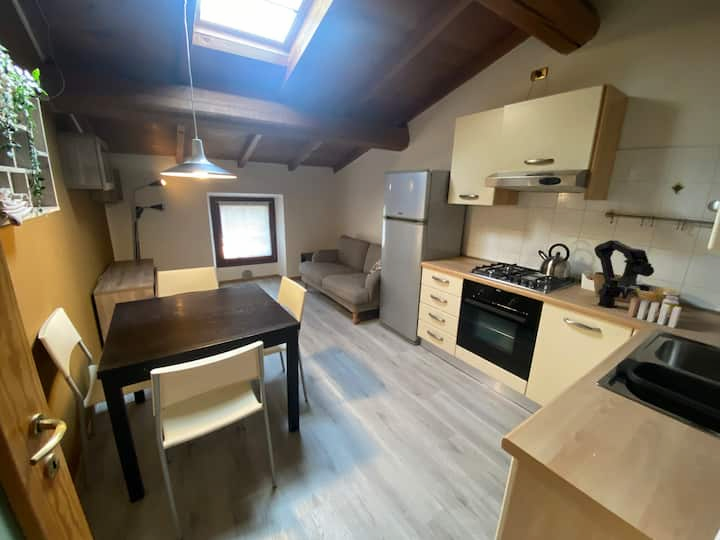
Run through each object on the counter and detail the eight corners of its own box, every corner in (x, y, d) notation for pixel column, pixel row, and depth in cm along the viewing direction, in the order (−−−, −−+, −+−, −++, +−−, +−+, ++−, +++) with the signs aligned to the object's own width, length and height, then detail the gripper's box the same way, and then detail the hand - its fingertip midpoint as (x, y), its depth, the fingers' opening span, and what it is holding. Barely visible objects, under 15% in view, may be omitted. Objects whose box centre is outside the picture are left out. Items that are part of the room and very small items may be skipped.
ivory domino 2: (646, 320, 154) (651, 303, 152) (649, 319, 157) (654, 301, 154) (651, 322, 152) (656, 304, 150) (654, 320, 155) (659, 302, 153)
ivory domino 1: (636, 318, 157) (641, 300, 155) (639, 316, 160) (644, 299, 158) (641, 319, 156) (646, 301, 153) (644, 317, 158) (649, 300, 156)
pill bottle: (678, 317, 160) (683, 298, 158) (664, 316, 162) (670, 297, 159) (668, 313, 166) (674, 295, 164) (656, 312, 167) (661, 294, 165)
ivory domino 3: (656, 323, 151) (662, 305, 148) (659, 321, 153) (664, 303, 151) (662, 325, 149) (667, 306, 147) (665, 323, 152) (670, 305, 149)
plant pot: (586, 297, 193) (591, 273, 189) (592, 293, 202) (597, 270, 199) (615, 303, 182) (621, 278, 178) (620, 299, 191) (626, 275, 188)
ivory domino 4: (667, 326, 147) (673, 307, 145) (670, 324, 150) (675, 306, 148) (673, 327, 146) (679, 309, 143) (676, 326, 148) (681, 307, 146)
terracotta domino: (627, 315, 160) (631, 298, 158) (630, 314, 163) (634, 297, 161) (631, 317, 159) (636, 299, 157) (635, 315, 161) (639, 298, 159)
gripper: (604, 269, 163) (598, 296, 166) (649, 277, 147) (641, 306, 151) (612, 268, 169) (605, 293, 172) (656, 275, 153) (648, 303, 157)
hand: (624, 299), depth 163 cm, fingers closed
